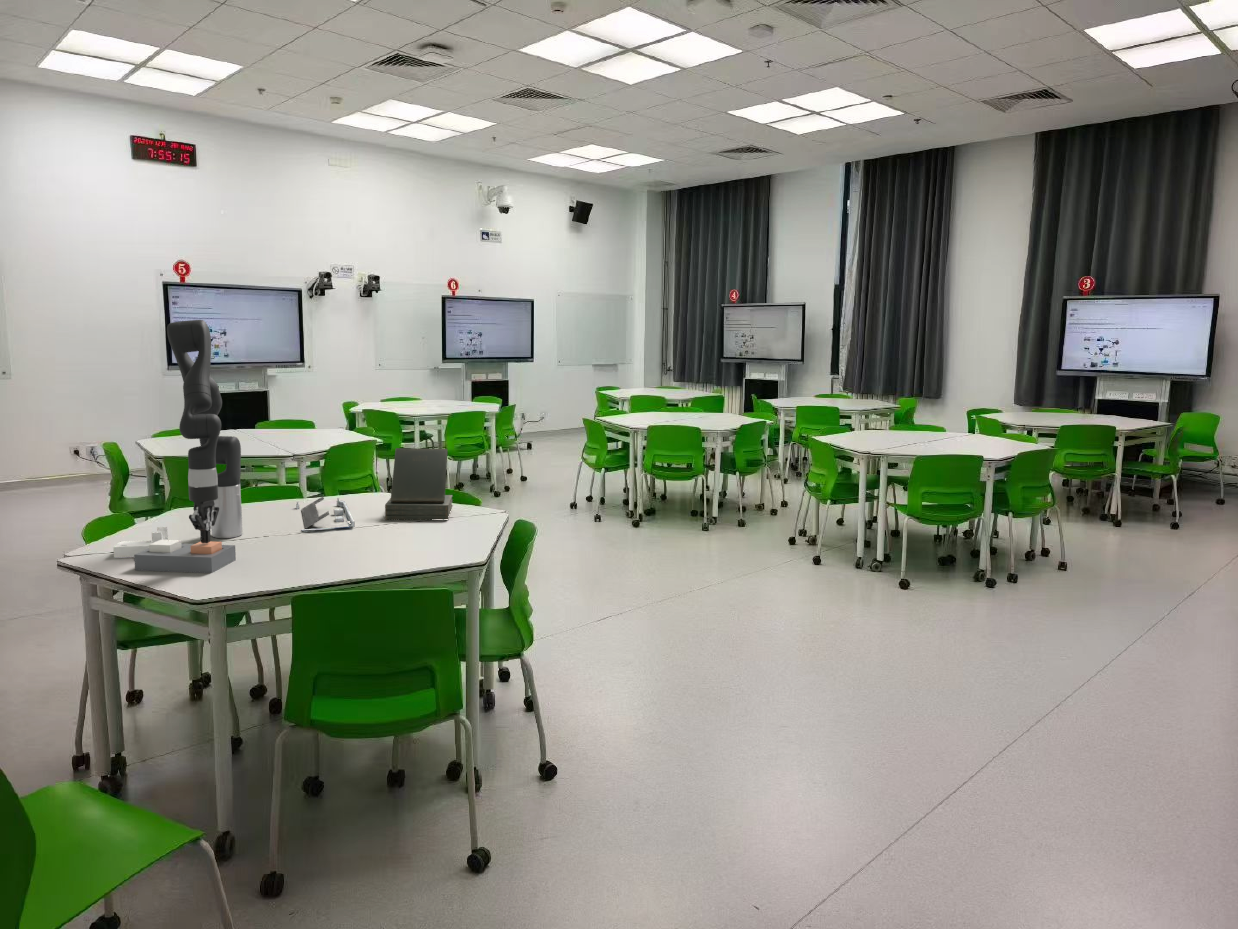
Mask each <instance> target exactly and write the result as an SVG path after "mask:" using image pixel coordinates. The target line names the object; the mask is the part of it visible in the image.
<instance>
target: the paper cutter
mask: <svg viewBox="0 0 1238 929" xmlns="http://www.w3.org/2000/svg"><path fill="white" fill-rule="evenodd" d="M336 499H337V500H336V507H340V508H334V509H333V516H334V521H335V522H336V523H341V522H342V523H344V522H345V521H346V523H347V521H350V523H351V524H349V523H347V526H339V527H336V526H335V527H324V528H323V527H322V528H309V527H311V526H312V525H315V524H316V523H318V522H319V521H321V520H323V519H324V518H326V517H327V516H330V512H329V510H327V511H326V512H324V513H323V514H321V515H319V512H318V509H317V506H316V505H317V504H319V503H320V502H322V501H323V500H325V497H324V496H321V497H319V498H318V499H316V500H314V501H313V502H311V503H309V504H308V505H306V506H304V507H302V508H301V513H302V517H303V518H302V519H303V523H304V528H305V529H300V531H315V530H316V531H317V530H332V529H335V530H336V529H349V528H353V527H355V519H354V517H353V515H352V513H351V511H350V508H349V507H348V504H347V503H346V500H340V497H337V498H336ZM295 508H296V510H300V503H299V501H296V505H295Z"/></svg>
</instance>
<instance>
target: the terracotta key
mask: <svg viewBox="0 0 1238 929" xmlns="http://www.w3.org/2000/svg"><path fill="white" fill-rule="evenodd" d="M193 544H194V545H192V546H190V547H191V553H194V554H214V553H216V552H218V551H220V550H222V545H223V542H222V541H212V540H211V541H210V542H209V543H201V540H200V541H198V542H197V543H193Z"/></svg>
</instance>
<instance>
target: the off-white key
mask: <svg viewBox="0 0 1238 929" xmlns="http://www.w3.org/2000/svg"><path fill="white" fill-rule="evenodd" d="M181 543H182V540H181V539H180V540H178V539H168V540H159V541H157V542H154V543H152V544H149V552H166V553H171V552H173V551H176V550H178V549H180V548H182V547H181Z"/></svg>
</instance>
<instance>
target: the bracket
mask: <svg viewBox="0 0 1238 929" xmlns="http://www.w3.org/2000/svg"><path fill="white" fill-rule="evenodd" d="M168 536H169V535H168V526H160V527H156V531H152V532H151V539H150V540H125V541H124V540H122V541H119V542H118V543H116V544H115V545H114V546H113V547H112V548H113V558H114V559H119V558H120V559H121V558H122V559H123V558H134V555H135V554H137V553H139V552H142V551H144V550H146V549H149V544H152V543H154V542H157V541H159V540H169V539H168V538H169V537H168Z"/></svg>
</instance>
